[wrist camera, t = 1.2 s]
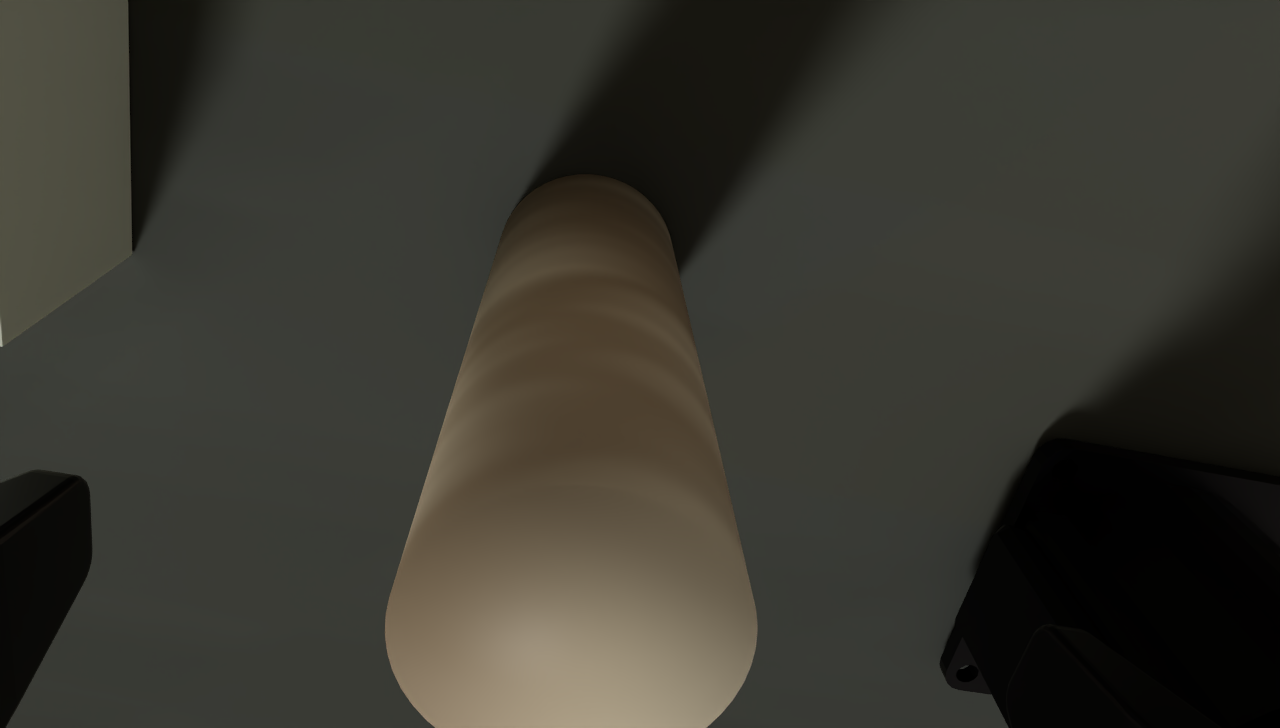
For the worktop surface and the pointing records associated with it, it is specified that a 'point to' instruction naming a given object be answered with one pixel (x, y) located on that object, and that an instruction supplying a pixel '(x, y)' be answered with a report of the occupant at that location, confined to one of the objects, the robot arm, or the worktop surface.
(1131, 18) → the worktop surface
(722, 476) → the long dowel
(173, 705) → the worktop surface
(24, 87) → the hole block
